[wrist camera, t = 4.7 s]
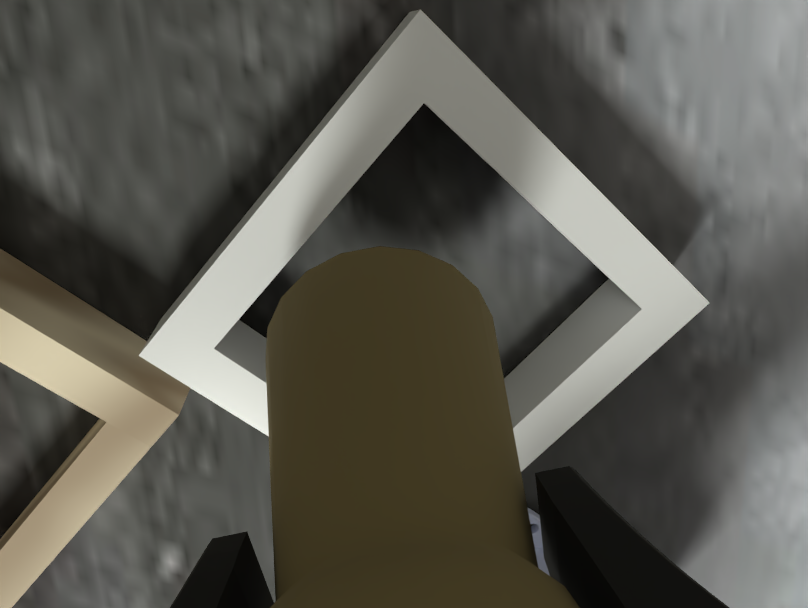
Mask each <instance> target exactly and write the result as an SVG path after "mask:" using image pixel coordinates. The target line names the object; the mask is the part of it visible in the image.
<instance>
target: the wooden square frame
mask: <svg viewBox="0 0 808 608" xmlns="http://www.w3.org/2000/svg"><path fill="white" fill-rule="evenodd" d="M146 342H147V341H146V340H144V339H143V338H141V337H139V336H138V335H136V334H135V333H133V332H132V331H130V330H128V329H127V328H125V327H124V326H122V325H120V324H119V323H117V322H116V321H114V320H113V319H111V318H109V317H108V316H106V315H105V314H103V313H102V312H100V311H98V310H97V309H95V308H94V307H92V306H90V305H89V304H87V303H86V302H84V301H83V300H81V299H79V298H78V297H76V296H75V295H73V294H71V293H70V292H68V291H67V290H65V289H64V288H62V287H60V286H59V285H57V284H56V283H54V282H53V281H51V280H49V279H48V278H46V277H45V276H43V275H41V274H40V273H38V272H37V271H35V270H34V269H32V268H30V267H29V266H27V265H26V264H24V263H22V262H21V261H19V260H18V259H16V258H15V257H13V256H11V255H10V254H8V253H7V252H5V251H3V250H2V249H0V362H1V363H3V364H5V365H7V366H8V367H10V368H12V369H14V370H16V371H17V372H19V373H21V374H23V375H24V376H26V377H28V378H30V379H31V380H33V381H35V382H37V383H38V384H40V385H42V386H44V387H45V388H47V389H49V390H51V391H53V392H54V393H56V394H58V395H60V396H61V397H63V398H65V399H67V400H68V401H70V402H72V403H74V404H75V405H77V406H79V407H81V408H82V409H84V410H86V411H88V412H90V413H91V414H93V415H95V416H97V417H98V418H99V420H98V421H97V422H96V423H95V425H94V426H93V427H92V428H91V429H90V431H89V432H88V433H87V434H86V435H85V437H84V438H83V439H82V440H81V442H80V443H79V444H78V445H77V446H76V448H75V449H74V450H73V451H72V452H71V454H70V455H69V456H68V457H67V459H66V460H65V461H64V462H63V463H62V465H61V466H60V467H59V468H58V469H57V471H56V472H55V473H54V474H53V476H52V477H51V478H50V479H49V480H48V482H47V483H46V484H45V485H44V487H43V488H42V489H41V490H40V491H39V493H38V494H37V495H36V496H35V497H34V499H33V500H32V501H31V502H30V504H29V505H28V506H27V507H26V508H25V510H24V511H23V512H22V513H21V514H20V516H19V517H18V518H17V519H16V521H15V522H14V523H13V524H12V525H11V527H10V528H9V529H8V530H7V532H6V533H5V534H4V535H3V536H2V538H1V539H0V608H12V607H13V605H14V604H15V603H16V602H17V601H18V600H19V598H20V597H21V596H22V595H23V594H24V593H25V592H26V590H27V589H28V588H29V587H30V586H31V585H32V584H33V582H34V581H35V580H36V579H37V578H38V577H39V575H40V574H41V573H42V572H43V571H44V570H45V569H46V567H47V566H48V565H49V564H50V563H51V562H52V560H53V559H54V558H55V557H56V556H57V555H58V554H59V552H60V551H61V550H62V549H63V548H64V547H65V546H66V544H67V543H68V542H69V541H70V540H71V539H72V537H73V536H74V535H75V534H76V533H77V532H78V531H79V529H80V528H81V527H82V526H83V525H84V524H85V523H86V521H87V520H88V519H89V518H90V517H91V516H92V514H93V513H94V512H95V511H96V510H97V509H98V508H99V506H100V505H101V504H102V503H103V502H104V501H105V500H106V498H107V497H108V496H109V495H110V494H111V493H112V491H113V490H114V489H115V488H116V487H117V486H118V485H119V483H120V482H121V481H122V480H123V479H124V478H125V477H126V475H127V474H128V473H129V472H130V471H131V470H132V468H133V467H134V466H135V465H136V464H137V463H138V462H139V460H140V459H141V458H142V457H143V456H144V455H145V454H146V452H147V451H148V450H149V449H150V448H151V447H152V445H153V444H154V443H155V442H156V441H157V440H158V439H159V437H160V436H161V435H162V434H163V433H164V432H165V430H166V429H167V428H168V427H169V426H170V425H171V424H172V422H173V421H174V420H175V419H176V418H177V417H178V416H179V414H180V411H181V409H182V406H183V404H184V402H185V399H186V397H187V394H188V392H189V389H190V387H188V386H187V385H185V384H183V383H182V382H180V381H179V380H177V379H175V378H174V377H172V376H170V375H169V374H167V373H166V372H164V371H162V370H161V369H159V368H158V367H156V366H154V365H153V364H151V363H150V362H148V361H146V360H145V359H143V358H141V357H140V356H139V354H140V352H141V351H142V349H143V347H144V346H145V344H146Z"/></svg>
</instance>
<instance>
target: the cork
mask: <svg viewBox="0 0 808 608" xmlns="http://www.w3.org/2000/svg"><path fill="white" fill-rule="evenodd" d="M265 361H266V384H267V407H268V431H269V454H270V477H271V501H272V524H273V547H274V571H275V594H276V602H275V603H274V604H273V605H272V606H271V607H270V608H580V607H579V606H578V604H577V603H576V601H575V600H574V599H573V597H572V596H571V594H570V593H569V592H568V590H567V589H566V587H565V586H564V585H562V584H561V583H559V582H558V581H556V580H555V579H554V578H552V577H551V576H549V575H548V574H546V573H545V572H543V571H542V570H540V569H539V568H538V563H537V558H536V552H535V547H534V541H533V536H532V530H531V525H530V519H529V514H528V508H527V503H526V497H525V492H524V487H523V481H522V476H521V470H520V465H519V459H518V454H517V448H516V443H515V437H514V432H513V426H512V421H511V415H510V410H509V404H508V399H507V393H506V388H505V382H504V377H503V371H502V366H501V361H500V355H499V350H498V344H497V339H496V333H495V328H494V322H493V317H492V315H491V313H490V311H489V309H488V307H487V305H486V303H485V301H484V299H483V297H482V295H481V294H480V292H479V290H478V288H477V287H476V286H475V285H474V284H472V283H471V282H470V281H469V280H468V279H467V278H466V277H465V276H464V275H463V274H461V273H460V272H459V271H458V270H457V269H456V268H455V267H454V266H453V265H451V264H448V263H446V262H444V261H442V260H439V259H437V258H435V257H432V256H430V255H428V254H426V253H423V252H421V251H419V250H410V249H401V248H391V247H382V246H378V247H373V248H368V249H362V250H357V251H352V252H346V253H341V254H339V255H337V256H335V257H333V258H331V259H329V260H327V261H326V262H324V263H322V264H320V265H318V266H316V267H314V268H312V269H310V270H308V271H307V272H306V273H305V274H304V275H303V276H302V277H301V278H300V279H299V280H298V281H297V282H296V283H295V284H294V285H293V286H292V287H291V288H290V289H289V290H288V291H287V292H286V293H285V294H284V295H283V296H282V297H281V299H280V301H279V303H278V306H277V308H276V310H275V312H274V314H273V317H272V319H271V321H270V323H269V325H268V328H267V342H266V359H265Z"/></svg>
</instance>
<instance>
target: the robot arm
mask: <svg viewBox="0 0 808 608" xmlns="http://www.w3.org/2000/svg"><path fill="white" fill-rule="evenodd" d="M535 475H536V485H537V495H538V504H539V514H540V515H539V514H537V513H536V512H534V511H533V510H531V509H530V508H528V514H529V519H530V524H534V525H532V526H531V530H532V536H533V541H534V547H535V552H536V558H537V563H538V568H539V569H540V570H542V571H543V572H545V573H546V574H548V575H549V576H551V577H552V578H554V579H555V580H556V581H558V582H559V583H561V584H562V585H564V586H565V587H566V589H567V590H568V592H569V593H570V594H571V596H572V597H573V599H574V600H575V601H576V603H577V604H578V606H579V607H580V608H729V607H728V606H726V605H725V604H724V603H723V602H721V601H720V600H719V599H717V598H716V597H715V596H713V595H712V594H711V593H710V592H708V591H707V590H706V589H705V588H703V587H702V586H701V585H700V584H698V583H697V582H696V581H695V580H693V579H692V578H691V577H690V576H688V575H687V574H686V573H685V572H683V571H682V570H681V569H680V568H679V567H677V566H676V565H675V564H674V563H673V562H672V561H670V560H669V559H668V558H667V557H666V556H665V555H663V554H662V553H661V552H660V551H659V550H658V549H657V548H655V547H654V546H653V545H652V544H651V543H650V542H649V541H648V540H646V539H645V538H644V537H643V536H642V535H641V534H640V533H638V532H637V531H636V530H635V529H634V528H633V527H632V526H631V525H630V524H629V523H628V522H627V521H625V520H624V519H623V518H622V517H621V516H620V515H619V514H618V513H617V512H616V511H615V510H614V509H613V508H612V507H611V506H610V505H609V504H608V503H607V502H606V501H605V500H604V499H603V498H602V497H601V496H600V495H599V494H598V493H597V492H596V491H595V490H594V489H593V488H592V487H591V486H590V485H589V484H588V483H587V482H586V481H585V480H584V479H583V478H582V477H581V476H580V475H579V473H578V472H577V471H576V470H574V469H573V468H571V467H570V466H568V467H563V468H558V469H553V470H548V471H543V472H538V473H535ZM273 604H274V602H273V600H272V597H271V594H270V592H269V589H268V586H267V584H266V581H265V578H264V576H263V573H262V570H261V568H260V565H259V562H258V560H257V557H256V554H255V552H254V549H253V546H252V544H251V541H250V538H249V536H248V533H247V532H243V533H238V534H233V535H228V536H223V537H218V538H213V539H212V540H211V542H210V543H209V544H208V546H207V548H206V549H205V551H204V553H203V554H202V556H201V557H200V559H199V561H198V562H197V564H196V566H195V567H194V569H193V571H192V572H191V574H190V576H189V577H188V579H187V581H186V582H185V584H184V586H183V587H182V589H181V591H180V592H179V594H178V596H177V597H176V599H175V600H174V602H173V604H172V605H171V607H170V608H270V607H271V606H272V605H273Z"/></svg>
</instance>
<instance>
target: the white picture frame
mask: <svg viewBox="0 0 808 608" xmlns="http://www.w3.org/2000/svg"><path fill="white" fill-rule="evenodd" d="M423 104H425V105H426V106H427V107H428V108H429V109H430V110H432V111H433V112H434V113H435V114H436V115H437V116H438V117H439V118H440V119H441V120H442V121H443V122H444V123H445V124H446V125H447V126H448V127H449V128H451V129H452V130H453V131H454V132H455V133H456V134H457V135H458V136H459V137H460V138H461V139H462V140H463V141H464V142H465V143H466V144H467V145H469V146H470V147H471V148H472V149H473V150H474V151H475V152H476V153H477V154H478V155H479V156H480V157H481V158H482V159H483V160H484V161H485V162H486V163H488V164H489V165H490V166H491V167H492V168H493V169H494V170H495V171H496V172H497V173H498V174H499V175H500V176H501V177H502V178H503V179H504V180H506V181H507V182H508V183H509V184H510V185H511V186H512V187H513V188H514V189H515V190H516V191H517V192H518V193H519V194H520V195H521V196H522V197H523V198H525V199H526V200H527V201H528V202H529V203H530V204H531V205H532V206H533V207H534V208H535V209H536V210H537V211H538V212H539V213H540V214H541V215H542V216H544V217H545V218H546V219H547V220H548V221H549V222H550V223H551V224H552V225H553V226H554V227H555V228H556V229H557V230H558V231H559V232H560V233H562V234H563V235H564V236H565V237H566V238H567V239H568V240H569V241H570V242H571V243H572V244H573V245H574V246H575V247H576V248H577V249H578V250H579V251H581V252H582V253H583V254H584V255H585V256H586V257H587V258H588V259H589V260H590V261H591V262H592V263H593V264H594V265H595V266H596V267H597V268H599V269H600V270H601V271H602V272H603V273H604V274H605V275H606V276H607V277H608V278H609V279H608V280H607V281H606V282H605V283H604V284H603V285H601V286H600V287H599V288H598V289H597V290H596V291H595V292H594V293H593V294H592V295H591V296H590V297H589V298H588V299H587V300H586V301H585V302H584V303H583V304H582V305H581V306H580V307H578V308H577V309H576V310H575V311H574V312H573V313H572V314H571V315H570V316H569V317H568V318H567V319H566V320H565V321H564V322H563V323H562V324H561V325H560V326H559V327H558V328H557V329H556V330H554V331H553V332H552V333H551V334H550V335H549V336H548V337H547V338H546V339H545V340H544V341H543V342H542V343H541V344H540V345H539V346H538V347H537V348H536V349H535V350H534V351H533V352H531V353H530V354H529V355H528V356H527V357H526V358H525V359H524V360H523V361H522V362H521V363H520V364H519V365H518V366H517V367H516V368H515V369H514V370H513V371H512V372H511V373H510V374H509V375H507V376H506V377H505V378H504V382H505V388H506V393H507V399H508V404H509V410H510V415H511V421H512V426H513V432H514V437H515V443H516V448H517V454H518V459H519V465H520V470H521V471H523V470H524V469H525V468H526V467H527V466H528V465H529V464H530V463H531V462H533V461H534V460H535V459H536V458H537V457H538V456H539V455H540V454H542V453H543V452H544V451H545V450H546V449H547V448H548V447H549V446H550V445H552V444H553V443H554V442H555V441H556V440H557V439H558V438H559V437H561V436H562V435H563V434H564V433H565V432H566V431H567V430H568V429H569V428H571V427H572V426H573V425H574V424H575V423H576V422H577V421H578V420H579V419H581V418H582V417H583V416H584V415H585V414H586V413H587V412H588V411H590V410H591V409H592V408H593V407H594V406H595V405H596V404H597V403H598V402H600V401H601V400H602V399H603V398H604V397H605V396H606V395H607V394H609V393H610V392H611V391H612V390H613V389H614V388H615V387H616V386H617V385H619V384H620V383H621V382H622V381H623V380H624V379H625V378H626V377H627V376H629V375H630V374H631V373H632V372H633V371H634V370H635V369H636V368H638V367H639V366H640V365H641V364H642V363H643V362H644V361H645V360H646V359H648V358H649V357H650V356H651V355H652V354H653V353H654V352H655V351H657V350H658V349H659V348H660V347H661V346H662V345H663V344H664V343H665V342H667V341H668V340H669V339H670V338H671V337H672V336H673V335H674V334H676V333H677V332H678V331H679V330H680V329H681V328H682V327H683V326H684V325H686V324H687V323H688V322H689V321H690V320H691V319H692V318H693V317H694V316H696V315H697V314H698V313H699V312H700V311H701V310H702V309H703V308H705V307H706V306H707V305H708V304H709V302H708V301H707V300H706V299H705V298H704V297H703V296H702V295H701V294H700V292H699V291H698V290H697V289H696V288H695V287H694V286H693V285H692V284H691V283H690V282H689V281H688V280H687V279H686V278H685V277H684V276H683V275H682V274H681V273H680V272H679V271H678V270H677V269H676V268H675V267H674V266H673V265H672V264H671V263H670V262H669V261H668V260H667V259H666V258H665V257H664V256H663V255H662V254H661V253H660V252H659V251H658V250H657V249H656V248H655V247H654V246H653V245H652V244H651V243H650V242H649V241H648V240H647V239H646V238H645V237H644V236H643V235H642V234H641V233H640V232H639V231H638V230H637V229H636V228H635V227H634V226H633V225H632V223H631V222H630V221H629V220H628V219H627V218H626V217H625V216H624V215H623V214H622V213H621V212H620V211H619V210H618V209H617V208H616V207H615V206H614V205H613V204H612V203H611V202H610V201H609V200H608V199H607V198H606V197H605V196H604V195H603V194H602V193H601V192H600V191H599V190H598V189H597V188H596V187H595V186H594V185H593V184H592V183H591V182H590V181H589V180H588V179H587V178H586V177H585V176H584V175H583V174H582V173H581V172H580V171H579V170H578V169H577V168H576V167H575V166H574V165H573V164H572V163H571V162H570V161H569V160H568V159H567V158H566V157H565V156H564V154H563V153H562V152H561V151H560V150H559V149H558V148H557V147H556V146H555V145H554V144H553V143H552V142H551V141H550V140H549V139H548V138H547V137H546V136H545V135H544V134H543V133H542V132H541V131H540V130H539V129H538V128H537V127H536V126H535V125H534V124H533V123H532V122H531V121H530V120H529V119H528V118H527V117H526V116H525V115H524V114H523V113H522V112H521V111H520V110H519V109H518V108H517V107H516V106H515V105H514V104H513V103H512V102H511V101H510V100H509V99H508V98H507V97H506V96H505V95H504V94H503V93H502V92H501V91H500V90H499V89H498V88H497V86H496V85H495V84H494V83H493V82H492V81H491V80H490V79H489V78H488V77H487V76H486V75H485V74H484V73H483V72H482V71H481V70H480V69H479V68H478V67H477V66H476V65H475V64H474V63H473V62H472V61H471V60H470V59H469V58H468V57H467V56H466V55H465V54H464V53H463V52H462V51H461V50H460V49H459V48H458V47H457V46H456V45H455V44H454V43H453V42H452V41H451V40H450V39H449V38H448V37H447V36H446V35H445V34H444V33H443V32H442V31H441V30H440V29H439V28H438V27H437V26H436V25H435V24H434V23H433V22H432V21H431V20H430V19H429V17H428V16H427V15H426V14H425V13H424V12H423V11H422V10H421V9H420V10H416V11H411V12H409V13H408V14H407V16H406V17H405V18H404V19H403V21H402V22H401V23H400V24H399V26H398V27H397V28H396V29H395V30H394V32H393V33H392V34H391V35H390V37H389V38H388V39H387V40H386V42H385V43H384V44H383V45H382V47H381V48H380V49H379V50H378V51H377V53H376V54H375V55H374V56H373V58H372V59H371V60H370V61H369V63H368V64H367V65H366V66H365V67H364V69H363V70H362V71H361V72H360V74H359V75H358V76H357V77H356V79H355V80H354V81H353V82H352V84H351V85H350V86H349V87H348V88H347V90H346V91H345V92H344V93H343V95H342V96H341V97H340V98H339V100H338V101H337V102H336V103H335V104H334V106H333V107H332V108H331V109H330V111H329V112H328V113H327V114H326V116H325V117H324V118H323V119H322V121H321V122H320V123H319V124H318V125H317V127H316V128H315V129H314V130H313V132H312V133H311V134H310V135H309V137H308V138H307V139H306V140H305V142H304V143H303V144H302V145H301V146H300V148H299V149H298V150H297V151H296V153H295V154H294V155H293V156H292V158H291V159H290V160H289V161H288V162H287V164H286V165H285V166H284V167H283V169H282V170H281V171H280V172H279V174H278V175H277V176H276V177H275V179H274V180H273V181H272V182H271V183H270V185H269V186H268V187H267V188H266V190H265V191H264V192H263V193H262V195H261V196H260V197H259V198H258V199H257V201H256V202H255V203H254V204H253V206H252V207H251V208H250V209H249V211H248V212H247V213H246V214H245V216H244V217H243V218H242V219H241V220H240V222H239V223H238V224H237V225H236V227H235V228H234V229H233V230H232V232H231V233H230V234H229V235H228V236H227V238H226V239H225V240H224V241H223V243H222V244H221V245H220V246H219V248H218V249H217V250H216V251H215V253H214V254H213V255H212V256H211V257H210V259H209V260H208V261H207V262H206V264H205V265H204V266H203V267H202V269H201V270H200V271H199V272H198V274H197V275H196V276H195V277H194V278H193V280H192V281H191V282H190V283H189V285H188V286H187V287H186V288H185V290H184V291H183V292H182V293H181V294H180V296H179V297H178V298H177V299H176V301H175V302H174V303H173V304H172V306H171V307H170V308H169V309H168V311H167V312H166V313H165V314H164V315H163V317H162V318H161V320H160V321H159V323H158V324H157V326H156V328H155V329H154V331H153V333H152V334H151V336H150V338H149V339H148V341H147V342H146V344H145V346H144V347H143V349H142V351H141V352H140V354H139V356H140V357H141V358H143V359H145V360H146V361H148V362H150V363H151V364H153V365H154V366H156V367H158V368H159V369H161V370H162V371H164V372H166V373H167V374H169V375H170V376H172V377H174V378H175V379H177V380H179V381H180V382H182V383H183V384H185V385H187V386H188V387H190V388H191V389H193V390H195V391H196V392H198V393H200V394H201V395H203V396H204V397H206V398H208V399H209V400H211V401H212V402H214V403H216V404H217V405H219V406H220V407H222V408H224V409H225V410H227V411H229V412H230V413H232V414H233V415H235V416H237V417H238V418H240V419H241V420H243V421H245V422H246V423H248V424H249V425H251V426H253V427H254V428H256V429H258V430H259V431H261V432H262V433H264V434H266V435H267V436H269V431H268V407H267V384H266V361H265V359H266V342H267V338H265V337H264V336H262V335H261V334H259V333H258V332H256V331H255V330H253V329H252V328H250V327H249V326H248V325H246V324H245V323H243V322H242V321H240V320H239V319H240V317H241V316H242V315H243V314H244V313H245V312H246V310H247V309H248V308H249V307H250V306H251V305H252V303H253V302H254V301H255V300H256V299H257V298H258V296H259V295H260V294H261V293H262V292H263V291H264V289H265V288H266V287H267V286H268V285H269V284H270V282H271V281H272V280H273V279H274V278H275V277H276V275H277V274H278V273H279V272H280V271H281V270H282V268H283V267H284V266H285V265H286V264H287V263H288V261H289V260H290V259H291V258H292V257H293V256H294V254H295V253H296V252H297V251H298V250H299V249H300V247H301V246H302V245H303V244H304V243H305V241H306V240H307V239H308V238H309V237H310V236H311V234H312V233H313V232H314V231H315V230H316V229H317V227H318V226H319V225H320V224H321V223H322V222H323V220H324V219H325V218H326V217H327V216H328V215H329V213H330V212H331V211H332V210H333V209H334V208H335V206H336V205H337V204H338V203H339V202H340V201H341V199H342V198H343V197H344V196H345V195H346V194H347V192H348V191H349V190H350V189H351V188H352V187H353V185H354V184H355V183H356V182H357V181H358V180H359V178H360V177H361V176H362V175H363V174H364V173H365V171H366V170H367V169H368V168H369V167H370V166H371V164H372V163H373V162H374V161H375V160H376V159H377V157H378V156H379V155H380V154H381V153H382V152H383V150H384V149H385V148H386V147H387V146H388V145H389V143H390V142H391V141H392V140H393V139H394V138H395V136H396V135H397V134H398V133H399V132H400V131H401V129H402V128H403V127H404V126H405V125H406V123H407V122H408V121H409V120H410V119H411V118H412V116H413V115H414V114H415V113H416V112H417V111H418V109H419V108H420V107H421V106H422V105H423Z"/></svg>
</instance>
